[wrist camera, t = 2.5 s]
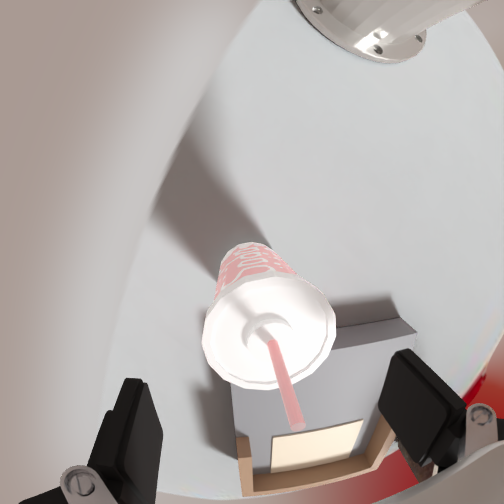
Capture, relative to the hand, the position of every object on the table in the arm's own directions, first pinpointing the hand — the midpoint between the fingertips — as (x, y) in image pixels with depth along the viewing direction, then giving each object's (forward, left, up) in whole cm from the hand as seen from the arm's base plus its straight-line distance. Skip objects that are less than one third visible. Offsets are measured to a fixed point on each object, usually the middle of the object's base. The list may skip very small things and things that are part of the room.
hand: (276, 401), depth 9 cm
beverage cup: (-1, 0, -12) cm, 12 cm away
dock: (+14, +6, -12) cm, 20 cm away
